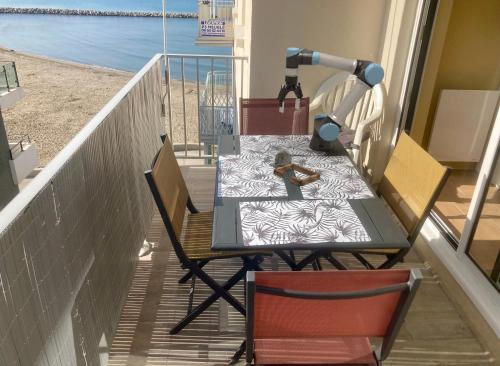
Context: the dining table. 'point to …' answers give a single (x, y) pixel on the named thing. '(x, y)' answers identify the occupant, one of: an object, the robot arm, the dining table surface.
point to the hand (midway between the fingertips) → (289, 110)
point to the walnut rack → (312, 174)
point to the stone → (283, 158)
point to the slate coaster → (274, 165)
